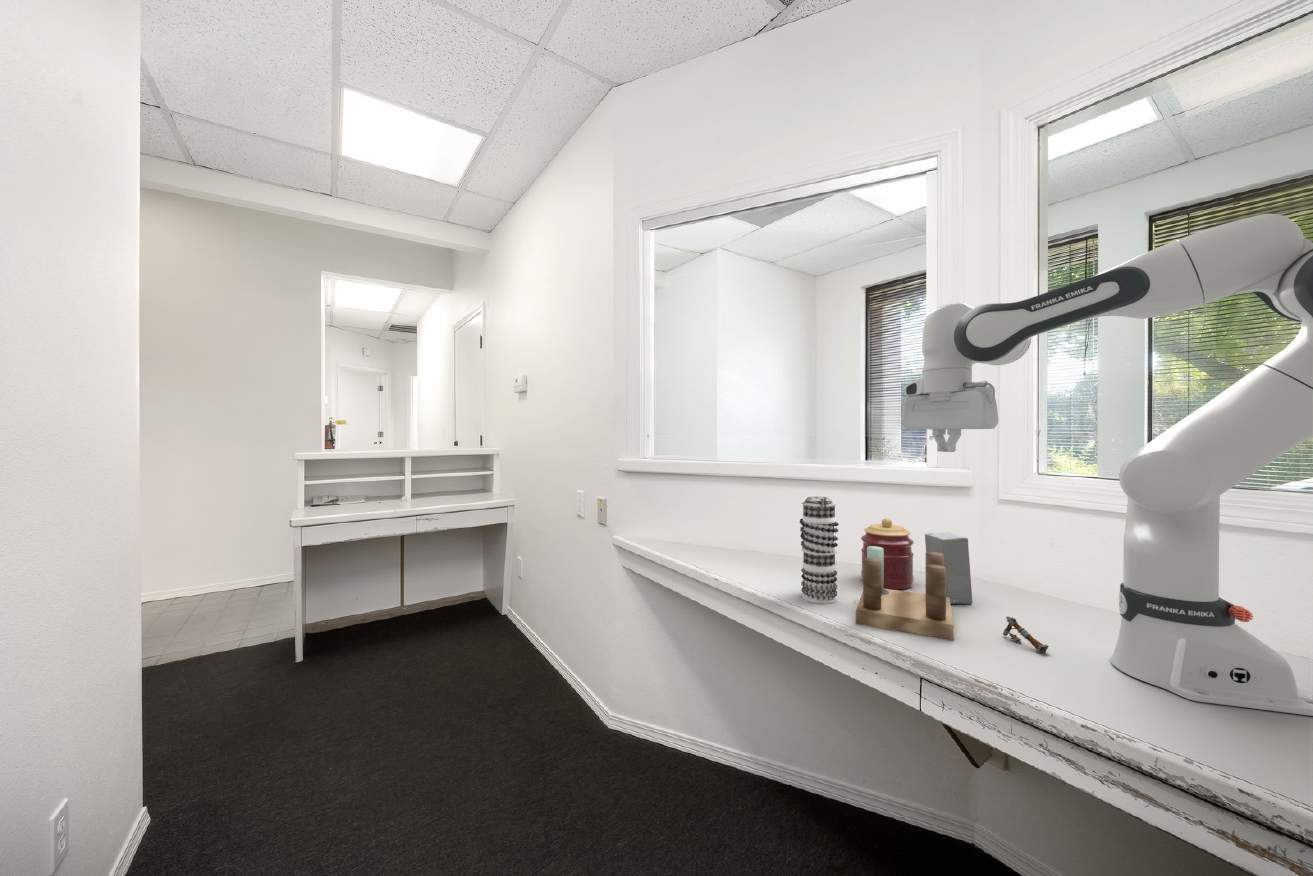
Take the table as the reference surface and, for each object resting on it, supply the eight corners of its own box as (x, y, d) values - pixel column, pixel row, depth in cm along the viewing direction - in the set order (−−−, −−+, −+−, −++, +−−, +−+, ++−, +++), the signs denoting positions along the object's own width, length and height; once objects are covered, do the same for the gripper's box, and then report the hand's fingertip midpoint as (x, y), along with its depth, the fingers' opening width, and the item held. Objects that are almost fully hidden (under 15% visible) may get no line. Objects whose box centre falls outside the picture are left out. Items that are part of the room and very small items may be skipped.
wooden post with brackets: (1003, 630, 99) (1012, 613, 97) (1039, 662, 92) (1049, 645, 90) (996, 631, 98) (1004, 614, 96) (1032, 663, 91) (1041, 646, 89)
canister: (920, 592, 125) (919, 523, 124) (865, 588, 128) (865, 521, 127) (906, 577, 137) (906, 515, 137) (857, 574, 140) (857, 513, 140)
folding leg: (867, 586, 119) (867, 545, 119) (883, 588, 117) (883, 547, 117) (865, 597, 111) (865, 554, 110) (883, 600, 109) (883, 555, 109)
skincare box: (973, 604, 115) (973, 538, 115) (942, 604, 115) (942, 538, 115) (952, 593, 124) (952, 531, 124) (923, 593, 124) (923, 531, 124)
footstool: (949, 610, 112) (949, 552, 112) (953, 640, 96) (953, 572, 96) (864, 598, 120) (864, 544, 120) (855, 623, 105) (855, 561, 104)
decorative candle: (825, 607, 114) (825, 501, 114) (792, 597, 122) (792, 497, 121) (846, 598, 120) (846, 498, 120) (813, 589, 127) (813, 494, 127)
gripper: (1007, 380, 91) (1006, 453, 91) (919, 389, 111) (919, 449, 111) (981, 379, 89) (980, 454, 90) (897, 388, 109) (897, 450, 109)
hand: (946, 451), depth 100 cm, fingers closed
